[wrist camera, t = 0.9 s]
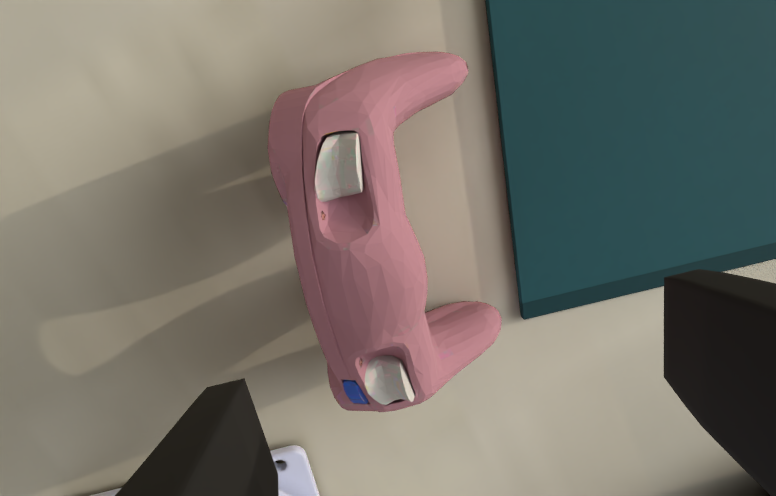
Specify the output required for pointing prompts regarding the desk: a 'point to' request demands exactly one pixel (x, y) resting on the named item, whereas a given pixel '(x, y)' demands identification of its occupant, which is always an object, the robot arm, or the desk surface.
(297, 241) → the video game controller
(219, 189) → the desk surface
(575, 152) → the teal board
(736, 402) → the robot arm
